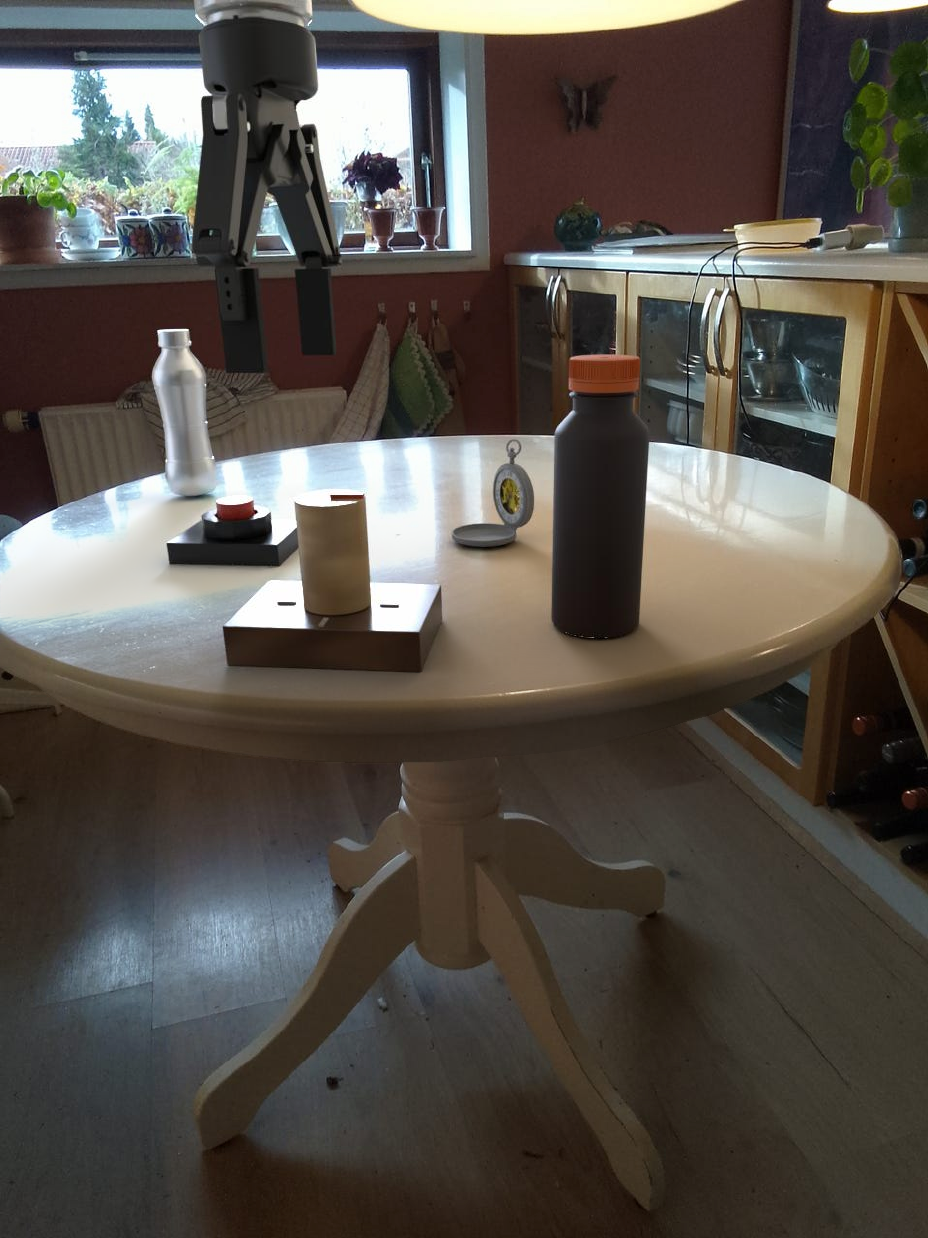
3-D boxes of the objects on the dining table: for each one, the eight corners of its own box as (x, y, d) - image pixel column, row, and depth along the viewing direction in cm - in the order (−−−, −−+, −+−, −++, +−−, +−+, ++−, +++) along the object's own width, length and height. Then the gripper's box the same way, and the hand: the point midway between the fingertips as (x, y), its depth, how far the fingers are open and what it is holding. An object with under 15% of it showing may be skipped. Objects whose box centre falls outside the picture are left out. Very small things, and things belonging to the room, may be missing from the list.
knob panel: (226, 665, 63) (221, 624, 62) (272, 615, 73) (268, 578, 71) (421, 672, 62) (419, 630, 60) (442, 620, 71) (441, 582, 70)
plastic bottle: (168, 503, 109) (144, 332, 102) (167, 491, 115) (144, 329, 108) (222, 498, 111) (202, 330, 104) (218, 487, 117) (199, 327, 110)
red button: (212, 521, 87) (209, 504, 86) (225, 512, 90) (223, 495, 89) (247, 522, 86) (245, 504, 86) (260, 512, 90) (258, 495, 89)
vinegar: (541, 635, 67) (544, 361, 60) (562, 605, 73) (568, 352, 66) (630, 645, 65) (645, 362, 58) (645, 613, 71) (661, 353, 64)
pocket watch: (440, 546, 90) (437, 446, 86) (476, 525, 97) (474, 432, 93) (515, 555, 87) (515, 452, 83) (546, 533, 94) (547, 437, 90)
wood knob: (295, 614, 64) (284, 501, 61) (314, 591, 69) (305, 484, 66) (363, 616, 63) (355, 502, 60) (378, 593, 68) (371, 485, 65)
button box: (169, 564, 86) (163, 524, 84) (205, 538, 94) (201, 501, 93) (279, 567, 85) (275, 526, 83) (306, 540, 93) (303, 502, 91)
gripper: (223, -38, 46) (264, 382, 54) (369, 63, 69) (383, 348, 77) (94, -25, 48) (152, 381, 56) (278, 70, 71) (301, 349, 78)
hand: (286, 363), depth 66 cm, fingers open, 13 cm apart
